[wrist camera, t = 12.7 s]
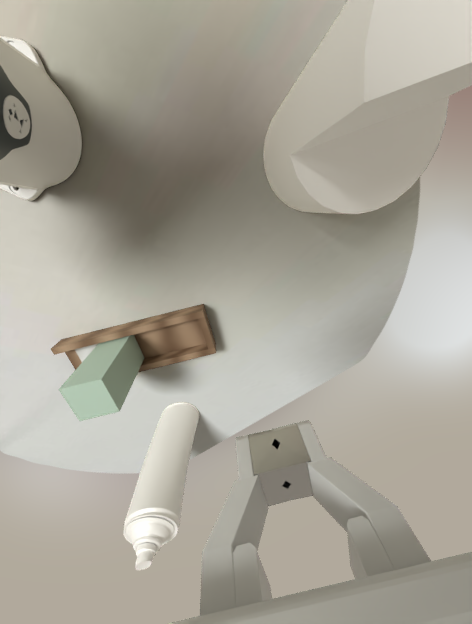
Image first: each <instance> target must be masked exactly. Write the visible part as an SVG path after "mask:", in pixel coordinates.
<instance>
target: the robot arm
mask: <svg viewBox="0 0 472 624" xmlns="http://www.w3.org/2000/svg"><path fill="white" fill-rule="evenodd" d="M81 149H82V138H81V131H80V126H79V123H78V120H77V117H76V114H75V112H74V110H73V108H72V106H71V104H70V102H69V101H68V99H67V98H66V96H65V95H64V94H63V92H62V91H61V90H60V89H59V88H58V86H57V85H56V84H55V83H54V82H53V81H52V80H51V78H50V77H49V76H48V74H47V73H46V71H45V68H44V66H43V64H42V62H41V60H40V58H39V56H38V54H37V52H36V51H35V49H34V48H33V47H32V46H31V45H29V44H28V43H26V42H25V41H23V40H21V39H16V38H10V37H4V36H0V189H2V190H4V191H7V192H9V193H11V194H13V195H15V196H17V197H19V198H21V199H24V200H29V201H32V200H35V199H36V198H37V197H38V196H39V195H40V194H41V193H42V192H43V191H44V189H46V188H48V187H51V186H54V185H57V184H59V183H61V182H63V181H64V180H66V179H67V178H68V177H69V176H70V175H71V174H72V173H73V172H74V170H75V169H76V167H77V165H78V163H79V160H80V156H81ZM16 187H19V190H17V188H16ZM235 444H236V455H237V466H238V477H239V479H238V480H235V482H234V484H233V486H232V488H231V490H230V492H229V495H228V497H227V499H226V501H225V504H224V506H223V508H222V510H221V512H220V514H219V517H218V519H217V521H216V523H215V526H214V528H213V530H212V532H211V534H210V536H209V539H208V541H207V543H206V545H205V547H204V550H203V552H202V574H201V599H200V616H198V617H194V618H189V619H185V620H181V621H177V622H172V623H168V624H472V552H470V553H465V554H461V555H457V556H453V557H448V558H444V559H440V560H435V561H431V560H430V558H429V557H428V555H427V554H426V552H425V551H424V549H423V547H422V545H421V544H420V542H419V541H418V539H417V538H416V536H415V535H414V533H413V531H412V529H411V528H410V526H409V525H408V523H407V521H406V520H405V518H404V516H403V515H402V514H401V512H400V510H399V509H398V507H397V506H396V505H395V504H393V503H392V502H391V501H389V500H388V499H387V498H385V497H384V496H383V495H381V494H380V493H378V492H377V491H376V490H375V489H373V488H372V487H370V486H369V485H368V484H366V483H365V482H364V481H362V480H361V479H360V478H358V477H357V476H355V475H354V474H353V473H351V472H350V471H349V470H348V469H346V468H345V467H343V466H342V465H341V464H339V463H338V462H337V461H335V460H334V459H333V458H331V457H329V458H327V457H326V455H325V453H324V451H323V448H322V446H321V444H320V442H319V440H318V438H317V435H316V433H315V431H314V429H313V427H312V424H311V422H310V421H309V420H307V421H303V422H299V423H294V424H290V425H286V426H282V427H278V428H275V429H272V430H268V431H263V432H259V433H254V434H249V435H245V436H241V437H236V440H235ZM309 496H314V498H315V499H316V500H317V501H318V502H319V503H320V504H321V505H322V506H323V507H324V508H325V509H326V510H327V512H328V513H329V514H330V515H331V516H332V517H333V518H334V519H335V520H336V521H337V522H338V523H339V524H340V525H341V526H342V527H343V528H344V529H345V531H346V532H347V533H348V544H349V555H350V566H351V569H352V571H353V574H354V577H355V580H350V581H346V582H342V583H338V584H334V585H329V586H325V587H321V588H317V589H312V590H308V591H304V592H300V593H296V594H291V595H287V596H283V597H279V598H274V599H272V595H271V589H270V584H269V582H268V579H267V576H266V574H265V571H264V568H263V566H262V563H261V560H260V558H259V555H258V553H257V550H258V546H259V542H260V538H261V534H262V530H263V527H264V523H265V519H266V516H267V512H268V506H271V505H275V504H279V503H282V502H286V501H289V500H294V499H299V498H304V497H309Z"/></svg>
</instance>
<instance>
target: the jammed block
mask: <svg viewBox="0 0 472 624" xmlns="http://www.w3.org/2000/svg"><path fill="white" fill-rule="evenodd" d="M143 360H144V356H143V354H142V352H141V349H140V347H139V345H138V343H137V341H136V338H135V336H134V335H130V336H126V337H122V338H118V339H114V340H110V341H106V342H102V343H98V345H97V346H96V347H95V348H94V349H93V350H92V352H91V353H90V354H89V355H88V356H87V357H86V359H85V360H84V361H83V362H82V363H81V364H80V365H79V367H78V368H77V369H76V370H75V371H74V372H73V374H72V375H71V376H70V377H69V378H68V379H67V381H66V382H65V383H64V384H63V385H62V386H61V388H60V389H59V391H60V392H61V394H62V395H63V397H64V398H65V400H66V401H67V403H68V404H69V406H70V407H71V409H72V410H73V412H74V413H75V415H76V416H77V418H78V419H79V421H83V420H87V419H91V418H95V417H99V416H103V415H107V414H111V413H115V412H119V411H120V409H121V407H122V405H123V403H124V401H125V399H126V396H127V394H128V392H129V390H130V388H131V386H132V384H133V381H134V379H135V377H136V375H137V373H138V371H139V369H140V366H141V364H142V362H143Z"/></svg>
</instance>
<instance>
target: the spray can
mask: <svg viewBox="0 0 472 624" xmlns="http://www.w3.org/2000/svg"><path fill="white" fill-rule="evenodd" d="M198 421H199V411H198V410H197V408H196V407H195V406H193V405H192V404H190V403H186V402H177V403H173V404H171V405H169V406H168V407H166V408H165V409H164V411H163V412H162V415H161V417H160V420H159V422H158V425H157V427H156V430H155V433H154V435H153V438H152V441H151V444H150V446H149V449H148V452H147V455H146V457H145V460H144V463H143V466H142V469H141V472H140V475H139V478H138V481H137V484H136V488H135V491H134V494H133V497H132V500H131V503H130V507H129V510H128V513H127V516H126V519H125V523H124V532H123V533H124V537H125V539H126V540H127V541H128V542H130V543H131V544H133V548H134V550H135V551H136V556H137V560H136V565H135V569H136V570H143V569H146V568H148V567H149V566H150V565H151V564H152V559H153V556H155V555H156V552H157V551H159V550H160V548H161V546H162V545H163V544H166V543H168V542H170V541H171V540H172V539H173V538H174V537H175V536H176V534H177V532H178V527H179V525H180V518H181V509H182V501H183V495H184V488H185V481H186V475H187V468H188V463H189V459H190V454H191V450H192V445H193V441H194V436H195V432H196V428H197V424H198Z"/></svg>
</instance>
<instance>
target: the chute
mask: <svg viewBox="0 0 472 624" xmlns="http://www.w3.org/2000/svg"><path fill="white" fill-rule="evenodd" d="M130 335H134V336H135V338H136V341H137V343H138V345H139V347H140V349H141V352H142V354H143V356H144V360H143V362H142V364H141V366H140V369H139V371H138V372H141V371H145V370H149V369H153V368H157V367H162V366H166V365H170V364H174V363H178V362H182V361H186V360H190V359H194V358H198V357H202V356H206V355H210V354H214V353H216V343H215V339H214V336H213V333H212V330H211V326H210V323H209V320H208V317H207V314H206V310H205V307H204V304H201V305H197V306H193V307H189V308H185V309H181V310H177V311H173V312H169V313H165V314H161V315H157V316H153V317H149V318H145V319H141V320H138V321H134V322H130V323H126V324H122V325H118V326H114V327H110V328H106V329H102V330H98V331H94V332H90V333H86V334H82V335H78V336H74V337H70V338H66V339H62V340H61V341H60V342H58V343H57V344H56V345H55V346H54V347H52V348H51V350H52V352H53V353H54V354H58V353H62V352H65V353H66V355H67V356H68V358H69V360H70V361H71V363H72V365H73V366H74V368H75V370H76V369H77V368H78V367H79V365H80V364H81V363H82V362H83V361H84V360H85V359H86V357H87V356H88V355H89V354H90V353H91V352H92V350H93V349H94V348H95V347H96V346H97V345H98V343H102V342H106V341H110V340H114V339H118V338H122V337H126V336H130Z"/></svg>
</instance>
